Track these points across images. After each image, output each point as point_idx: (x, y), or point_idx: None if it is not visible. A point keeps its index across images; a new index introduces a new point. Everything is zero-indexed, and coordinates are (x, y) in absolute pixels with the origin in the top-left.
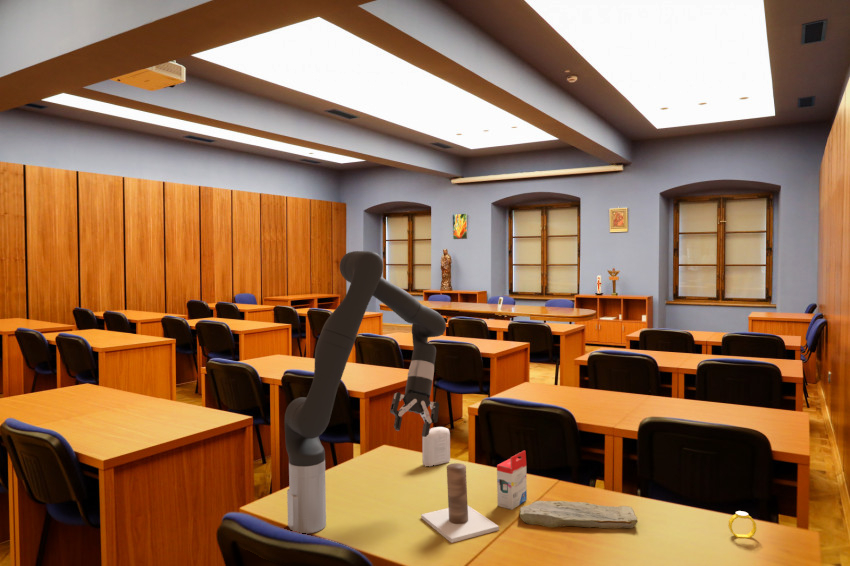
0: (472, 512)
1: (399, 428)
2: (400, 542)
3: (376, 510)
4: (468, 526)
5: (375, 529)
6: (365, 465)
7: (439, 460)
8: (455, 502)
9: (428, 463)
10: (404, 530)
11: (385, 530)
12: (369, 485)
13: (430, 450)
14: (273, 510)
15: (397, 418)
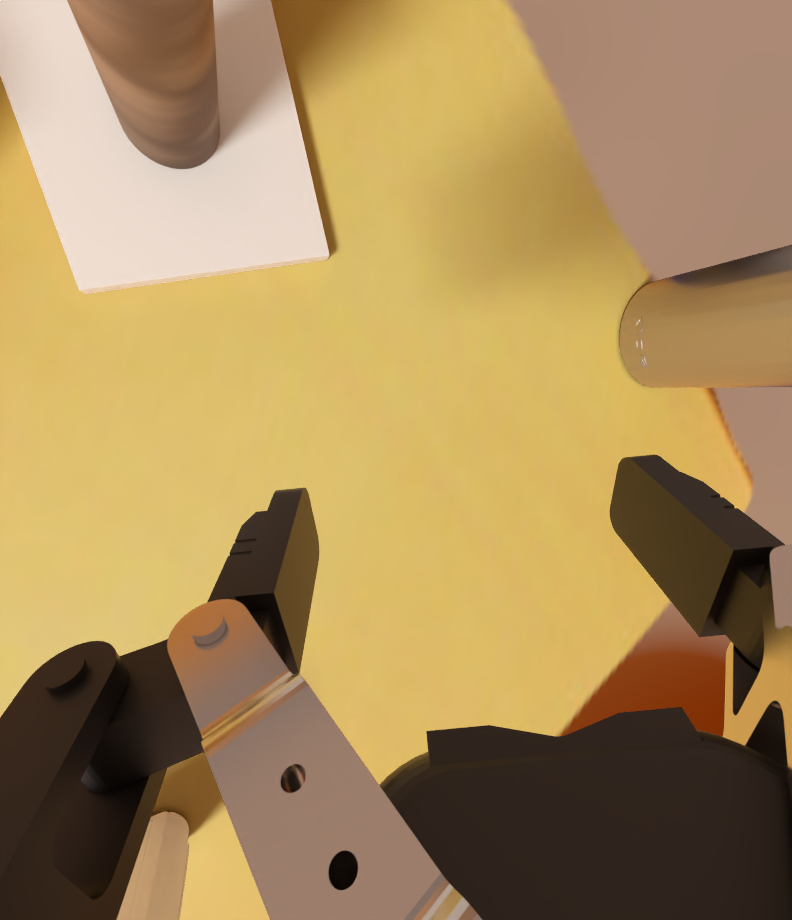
0: (67, 169)
1: (642, 459)
2: (445, 85)
3: (467, 389)
4: None
5: (499, 232)
6: None
7: None
8: None
9: (164, 823)
10: (411, 178)
11: (472, 209)
12: (448, 618)
13: (135, 900)
14: (708, 471)
15: (769, 542)
